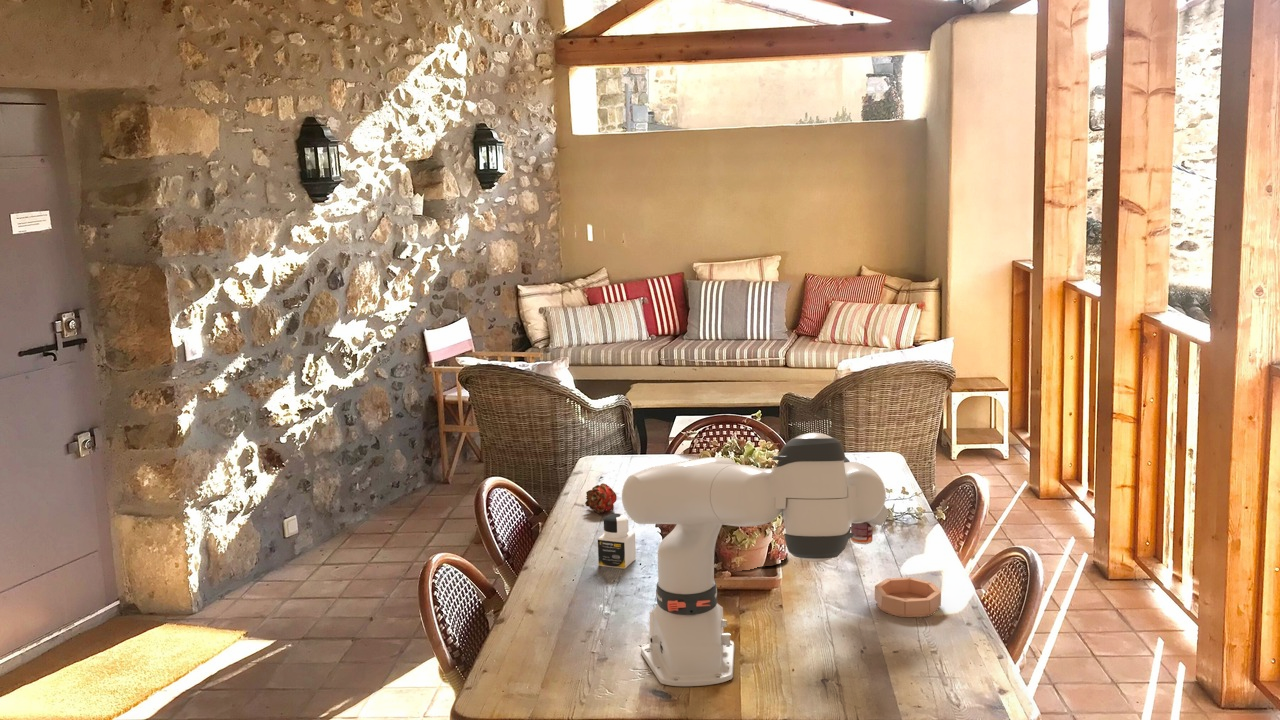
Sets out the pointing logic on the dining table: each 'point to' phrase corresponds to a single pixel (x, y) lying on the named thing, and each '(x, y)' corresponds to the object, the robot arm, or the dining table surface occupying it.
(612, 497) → the dragon fruit
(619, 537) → the medicine bottle
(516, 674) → the dining table surface
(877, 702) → the dining table surface
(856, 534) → the pill bottle
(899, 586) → the bowl
